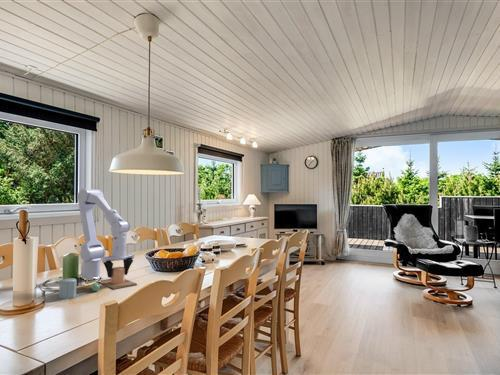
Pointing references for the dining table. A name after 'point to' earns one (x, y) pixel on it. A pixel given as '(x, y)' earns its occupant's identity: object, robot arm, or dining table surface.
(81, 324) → the dining table surface
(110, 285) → the walnut board
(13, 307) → the dining table surface
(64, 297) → the slate blue cup
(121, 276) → the terracotta cup
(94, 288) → the green ball
